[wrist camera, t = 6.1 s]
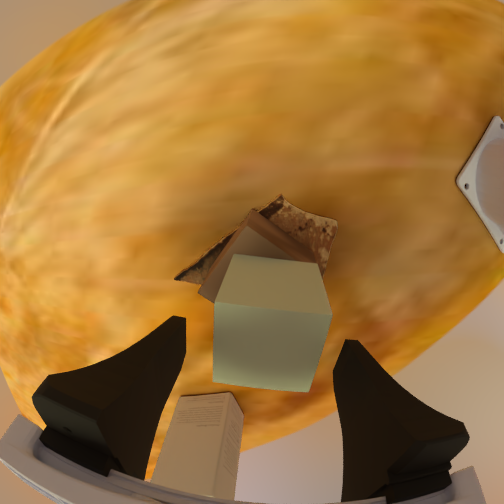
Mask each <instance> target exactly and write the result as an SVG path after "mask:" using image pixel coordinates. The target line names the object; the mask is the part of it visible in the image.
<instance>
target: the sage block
mask: <svg viewBox="0 0 504 504" xmlns="http://www.w3.org/2000/svg"><path fill="white" fill-rule="evenodd" d="M332 316H333V314H332V311H331V307H330V304H329V300H328V297H327V293H326V290H325V287H324V283H323V280H322V277H321V273H320V270H319V267H318V264H316V263H308V262H299V261H291V260H282V259H274V258H266V257H257V256H249V255H240V254H234V255H233V257H232V259H231V262H230V264H229V267H228V269H227V272H226V274H225V277H224V279H223V282H222V284H221V287H220V289H219V292H218V294H217V297H216V299H215V305H214V341H213V382H218V383H224V384H231V385H238V386H245V387H253V388H262V389H272V390H283V391H296V392H309V389H310V386H311V384H312V381H313V378H314V375H315V372H316V369H317V366H318V363H319V359H320V356H321V353H322V350H323V347H324V343H325V340H326V337H327V333H328V330H329V326H330V323H331V319H332Z"/></svg>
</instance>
